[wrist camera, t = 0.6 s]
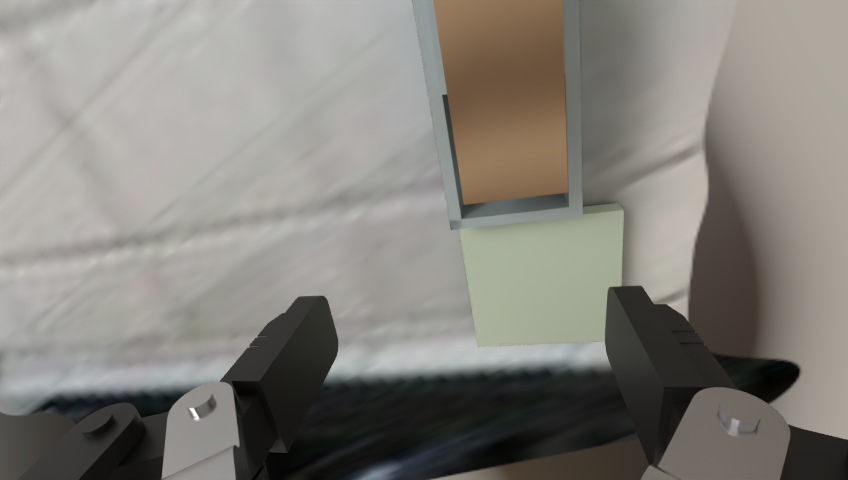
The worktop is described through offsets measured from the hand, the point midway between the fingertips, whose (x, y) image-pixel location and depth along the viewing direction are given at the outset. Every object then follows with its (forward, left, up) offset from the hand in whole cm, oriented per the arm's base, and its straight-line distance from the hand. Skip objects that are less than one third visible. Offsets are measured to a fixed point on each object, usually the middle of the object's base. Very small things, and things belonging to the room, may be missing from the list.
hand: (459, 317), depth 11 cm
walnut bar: (-6, -1, -12) cm, 13 cm away
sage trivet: (+5, +8, -16) cm, 18 cm away
